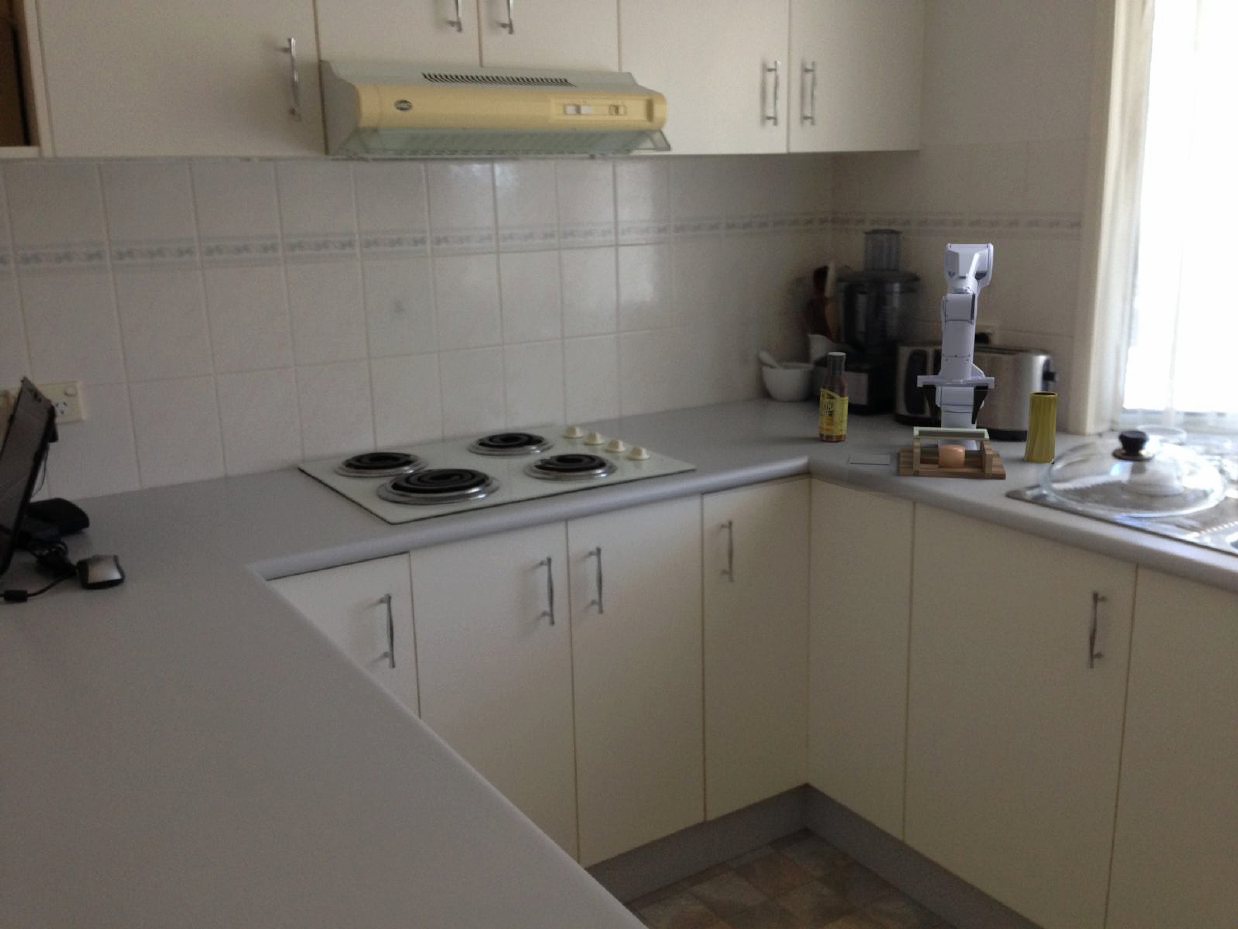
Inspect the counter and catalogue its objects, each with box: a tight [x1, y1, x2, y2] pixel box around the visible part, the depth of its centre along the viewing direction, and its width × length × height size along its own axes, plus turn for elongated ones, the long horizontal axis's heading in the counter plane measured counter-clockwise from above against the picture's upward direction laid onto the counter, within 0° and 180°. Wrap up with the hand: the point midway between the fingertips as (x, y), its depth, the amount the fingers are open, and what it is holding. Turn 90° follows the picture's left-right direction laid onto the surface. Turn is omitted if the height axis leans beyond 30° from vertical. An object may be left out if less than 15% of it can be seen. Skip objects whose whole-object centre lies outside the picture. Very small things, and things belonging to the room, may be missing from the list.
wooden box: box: [898, 435, 1007, 480], centre depth 234 cm, size 20×20×5 cm
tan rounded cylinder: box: [938, 445, 965, 469], centre depth 231 cm, size 5×5×4 cm
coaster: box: [849, 453, 891, 466], centre depth 240 cm, size 8×8×1 cm
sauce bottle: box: [818, 351, 850, 443], centre depth 259 cm, size 6×6×20 cm
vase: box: [1023, 390, 1058, 464], centre depth 236 cm, size 6×6×14 cm
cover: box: [913, 426, 990, 442], centre depth 239 cm, size 9×15×2 cm, turn 76°
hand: (953, 422), depth 229 cm, fingers open, 7 cm apart
